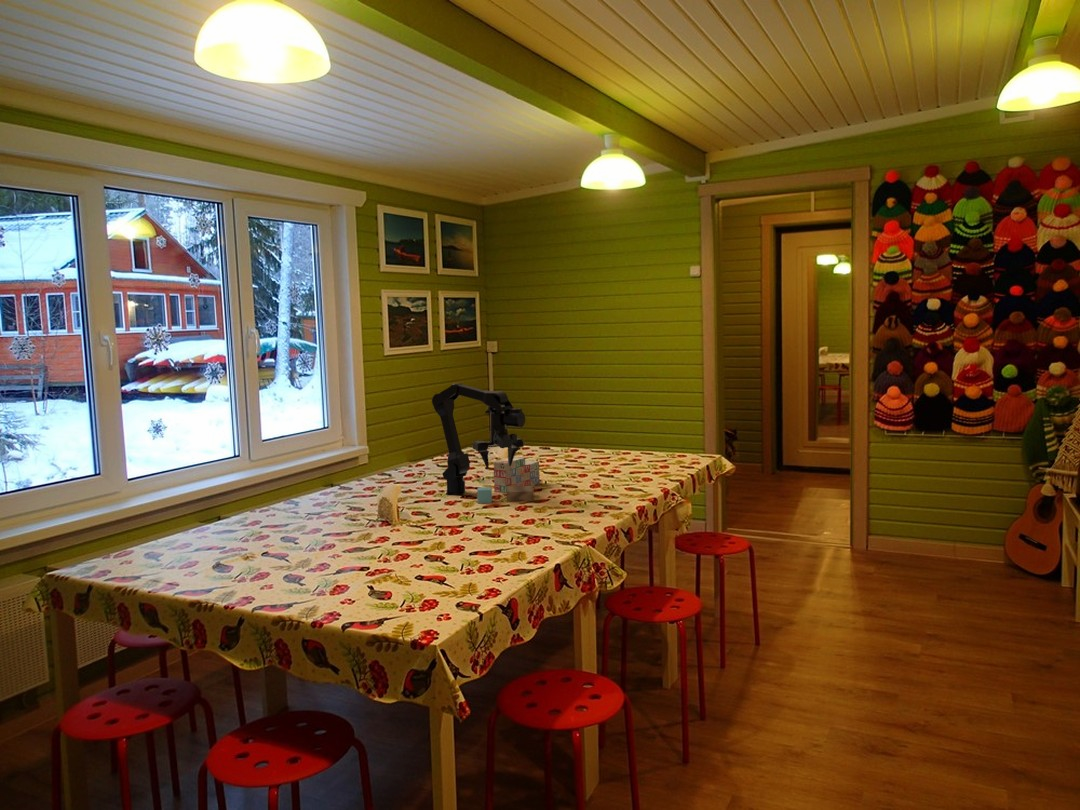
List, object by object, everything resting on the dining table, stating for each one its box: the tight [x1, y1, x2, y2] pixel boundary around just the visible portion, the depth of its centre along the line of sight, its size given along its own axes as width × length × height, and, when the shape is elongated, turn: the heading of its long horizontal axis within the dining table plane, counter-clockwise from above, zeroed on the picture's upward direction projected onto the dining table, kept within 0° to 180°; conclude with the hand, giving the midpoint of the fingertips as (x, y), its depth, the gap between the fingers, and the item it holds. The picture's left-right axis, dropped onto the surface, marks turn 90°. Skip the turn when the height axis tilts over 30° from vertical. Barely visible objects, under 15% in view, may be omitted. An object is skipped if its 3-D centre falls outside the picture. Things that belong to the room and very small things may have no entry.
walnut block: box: [506, 485, 535, 503], centre depth 303 cm, size 10×10×4 cm
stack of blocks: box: [493, 456, 541, 495], centre depth 322 cm, size 21×6×12 cm, turn 143°
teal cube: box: [476, 486, 493, 505], centre depth 299 cm, size 5×5×5 cm
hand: (498, 466), depth 303 cm, fingers open, 9 cm apart
